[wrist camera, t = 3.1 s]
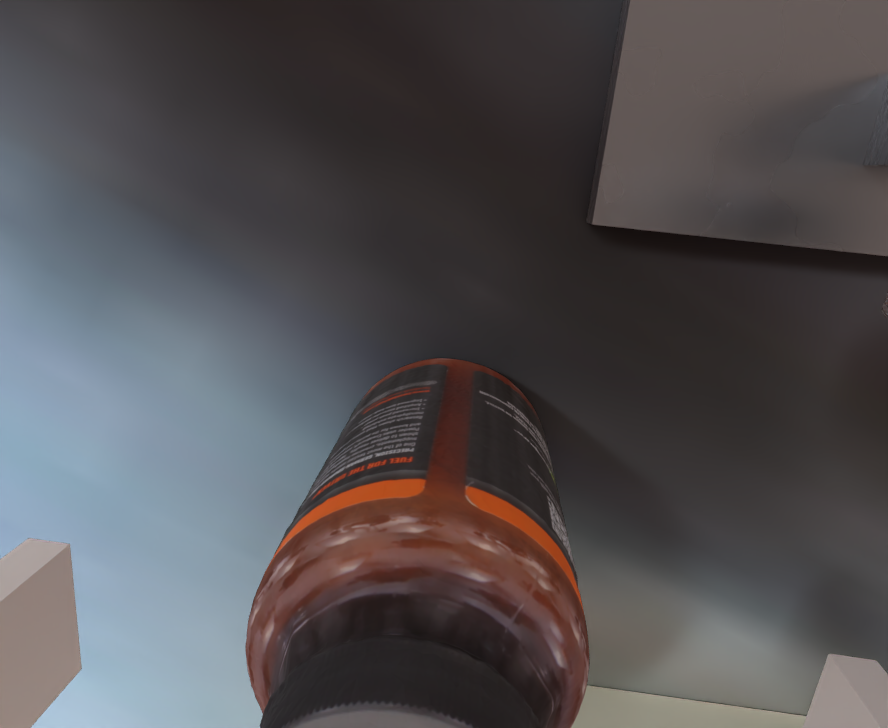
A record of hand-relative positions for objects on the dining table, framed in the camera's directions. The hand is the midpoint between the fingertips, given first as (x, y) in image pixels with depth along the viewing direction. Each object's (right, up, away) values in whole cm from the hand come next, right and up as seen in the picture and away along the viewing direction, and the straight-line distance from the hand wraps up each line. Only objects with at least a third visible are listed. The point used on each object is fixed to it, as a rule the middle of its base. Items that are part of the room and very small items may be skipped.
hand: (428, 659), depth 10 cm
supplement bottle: (0, +3, +8) cm, 8 cm away
